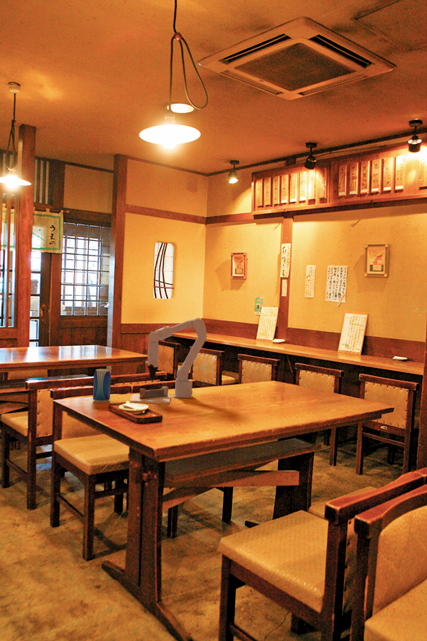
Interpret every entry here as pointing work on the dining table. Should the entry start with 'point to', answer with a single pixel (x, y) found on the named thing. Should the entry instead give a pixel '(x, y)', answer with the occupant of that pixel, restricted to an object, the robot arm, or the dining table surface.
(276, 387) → the dining table surface
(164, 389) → the lever
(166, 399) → the board
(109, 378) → the beer can
